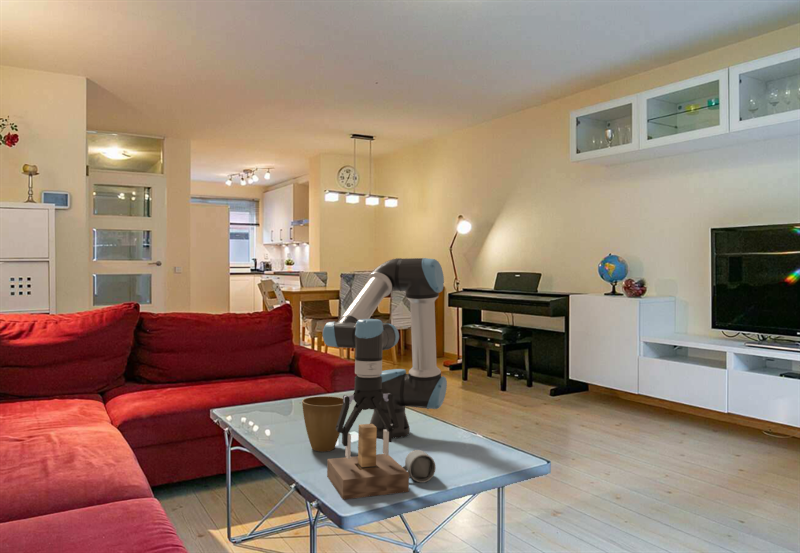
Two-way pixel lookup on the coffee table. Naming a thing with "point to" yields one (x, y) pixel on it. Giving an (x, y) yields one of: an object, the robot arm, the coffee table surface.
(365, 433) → the oak peg
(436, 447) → the coffee table surface
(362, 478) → the walnut socket block
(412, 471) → the ceramic mug
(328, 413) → the plant pot
